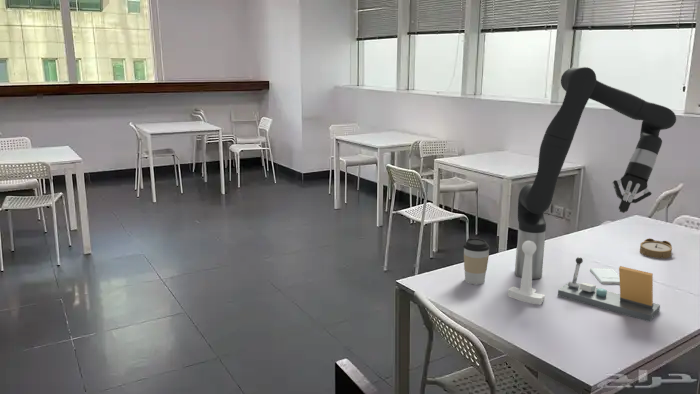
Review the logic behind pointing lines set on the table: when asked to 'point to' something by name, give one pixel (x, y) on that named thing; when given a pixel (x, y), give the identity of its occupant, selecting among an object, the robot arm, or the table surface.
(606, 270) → the external hard drive
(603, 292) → the push button
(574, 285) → the toggle lever
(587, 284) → the block
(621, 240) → the table surface
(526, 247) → the joystick
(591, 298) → the panel
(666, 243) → the alarm clock
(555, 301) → the table surface
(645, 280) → the tan flat slab
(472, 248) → the coffee cup
